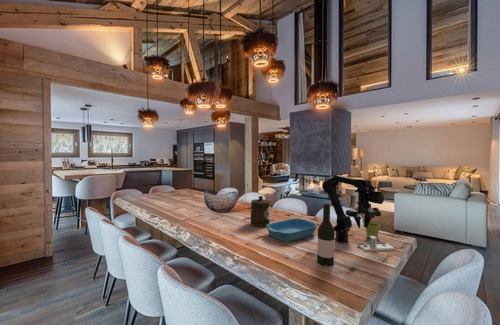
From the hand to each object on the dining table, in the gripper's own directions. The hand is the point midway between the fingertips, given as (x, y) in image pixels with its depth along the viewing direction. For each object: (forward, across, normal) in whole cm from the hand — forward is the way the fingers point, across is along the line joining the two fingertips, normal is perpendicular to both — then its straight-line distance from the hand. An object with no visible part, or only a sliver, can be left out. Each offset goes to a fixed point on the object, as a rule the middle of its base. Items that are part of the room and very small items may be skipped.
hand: (362, 227), depth 135 cm
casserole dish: (+12, -34, +27) cm, 45 cm away
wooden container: (+12, -50, +52) cm, 74 cm away
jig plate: (+12, +8, 0) cm, 15 cm away
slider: (+11, +7, 0) cm, 12 cm away
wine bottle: (+12, -30, -15) cm, 35 cm away
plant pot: (+12, +18, +16) cm, 27 cm away
